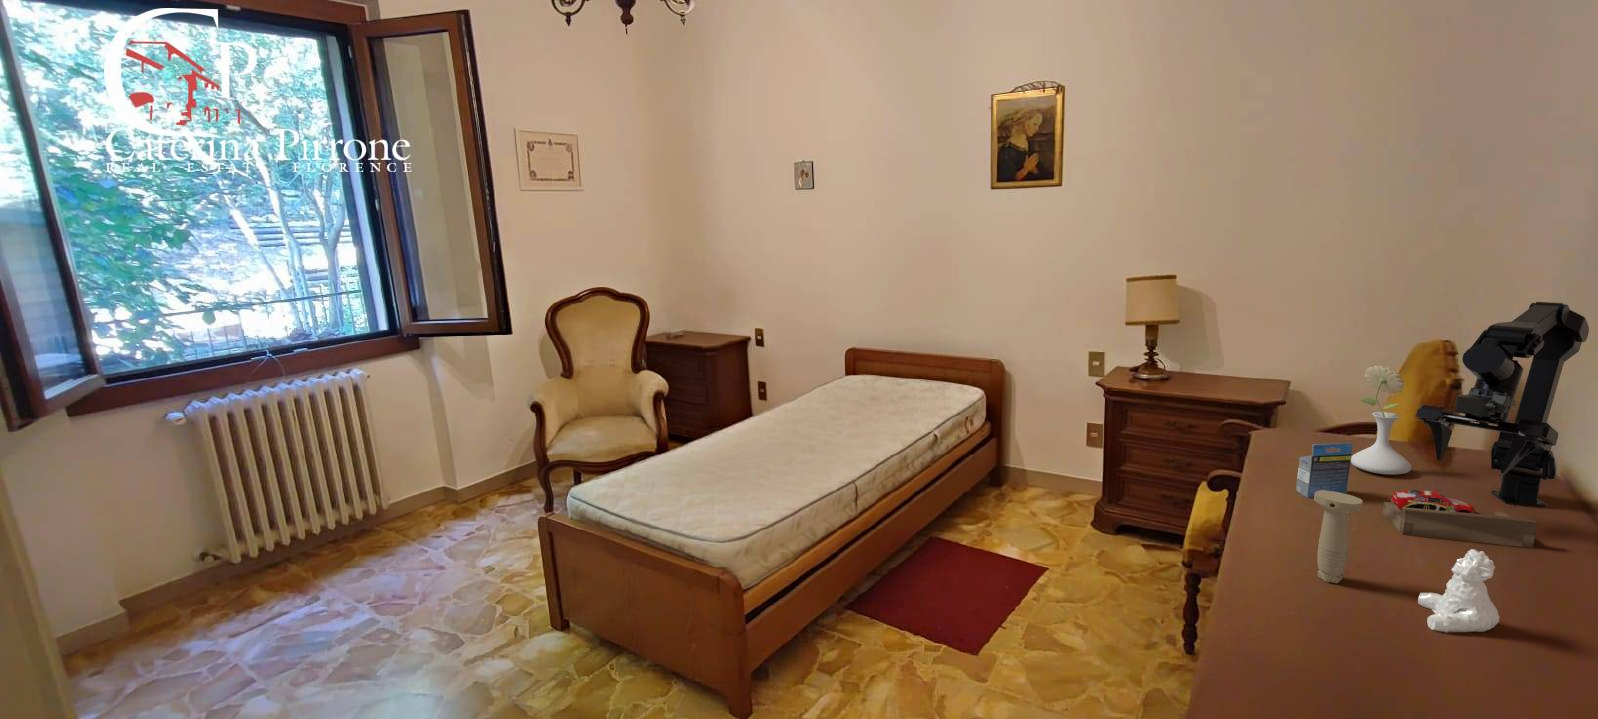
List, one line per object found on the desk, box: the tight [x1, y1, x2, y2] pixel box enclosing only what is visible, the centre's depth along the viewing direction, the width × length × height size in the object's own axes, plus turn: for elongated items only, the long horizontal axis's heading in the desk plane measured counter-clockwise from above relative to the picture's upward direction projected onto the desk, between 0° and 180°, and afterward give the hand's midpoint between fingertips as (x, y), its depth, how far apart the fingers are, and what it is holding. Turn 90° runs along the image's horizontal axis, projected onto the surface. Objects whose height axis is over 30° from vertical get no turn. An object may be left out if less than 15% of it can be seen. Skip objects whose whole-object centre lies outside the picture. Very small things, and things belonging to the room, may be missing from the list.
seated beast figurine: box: [1417, 548, 1501, 634], centre depth 106 cm, size 10×9×12 cm
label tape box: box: [1295, 442, 1353, 499], centre depth 155 cm, size 9×4×12 cm, turn 92°
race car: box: [1389, 489, 1476, 514], centre depth 145 cm, size 13×5×4 cm, turn 62°
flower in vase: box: [1350, 365, 1412, 476], centre depth 166 cm, size 13×11×25 cm
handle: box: [1313, 490, 1364, 584], centre depth 119 cm, size 5×6×15 cm
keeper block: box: [1382, 501, 1538, 549], centre depth 136 cm, size 10×19×5 cm, turn 67°
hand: (1469, 467), depth 132 cm, fingers open, 9 cm apart
